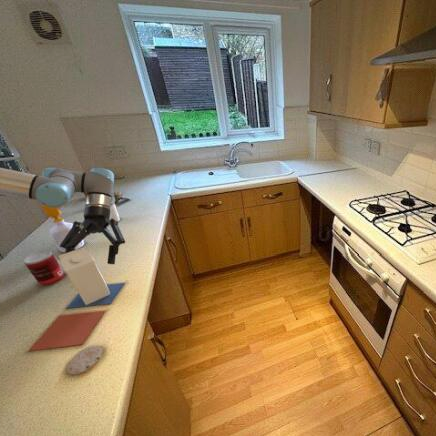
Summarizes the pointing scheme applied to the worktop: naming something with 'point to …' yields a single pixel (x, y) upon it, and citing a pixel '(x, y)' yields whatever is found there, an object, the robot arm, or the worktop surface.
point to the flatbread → (84, 359)
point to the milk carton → (84, 275)
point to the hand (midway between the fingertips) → (90, 265)
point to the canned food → (44, 267)
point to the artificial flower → (119, 194)
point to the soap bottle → (59, 227)
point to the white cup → (114, 212)
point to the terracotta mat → (68, 331)
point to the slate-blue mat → (105, 300)
